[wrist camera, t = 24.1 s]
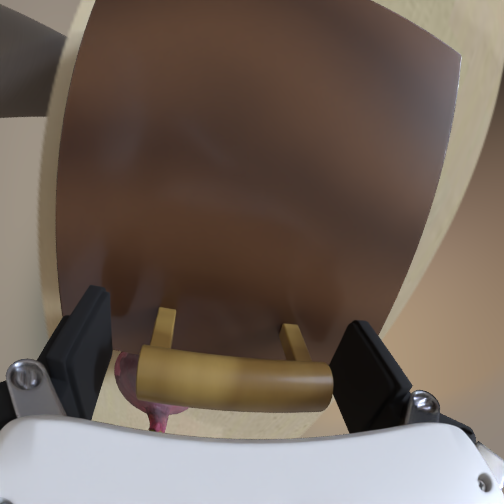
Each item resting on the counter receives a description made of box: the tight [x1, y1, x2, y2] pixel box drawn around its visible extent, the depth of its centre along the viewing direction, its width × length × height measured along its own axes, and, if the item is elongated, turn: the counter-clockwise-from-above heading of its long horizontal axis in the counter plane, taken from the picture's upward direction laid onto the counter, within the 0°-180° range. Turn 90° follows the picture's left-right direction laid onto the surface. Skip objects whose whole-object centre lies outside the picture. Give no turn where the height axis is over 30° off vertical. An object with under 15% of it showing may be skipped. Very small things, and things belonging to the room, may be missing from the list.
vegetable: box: [114, 351, 189, 433], centre depth 18 cm, size 6×6×10 cm
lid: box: [56, 0, 461, 413], centre depth 8 cm, size 16×15×5 cm
